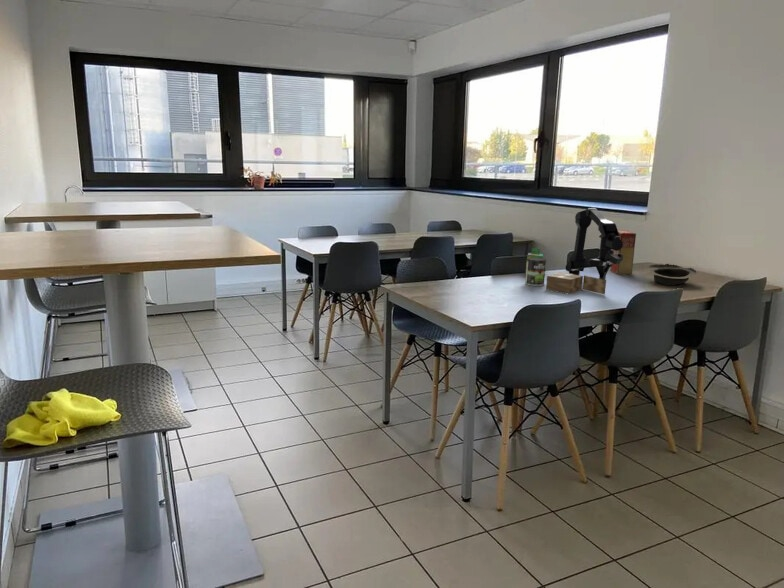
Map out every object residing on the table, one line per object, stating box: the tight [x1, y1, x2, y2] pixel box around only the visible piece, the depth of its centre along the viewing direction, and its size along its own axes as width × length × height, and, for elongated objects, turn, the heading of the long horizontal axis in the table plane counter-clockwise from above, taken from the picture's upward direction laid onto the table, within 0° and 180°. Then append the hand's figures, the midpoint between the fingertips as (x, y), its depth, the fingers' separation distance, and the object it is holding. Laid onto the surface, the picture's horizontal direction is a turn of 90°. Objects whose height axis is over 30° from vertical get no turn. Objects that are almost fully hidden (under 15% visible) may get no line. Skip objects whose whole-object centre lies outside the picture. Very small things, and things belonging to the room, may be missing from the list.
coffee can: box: [524, 257, 547, 287], centre depth 314 cm, size 10×10×14 cm
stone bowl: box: [647, 263, 697, 286], centre depth 321 cm, size 25×25×9 cm
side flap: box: [582, 272, 607, 295], centre depth 296 cm, size 14×1×12 cm, turn 33°
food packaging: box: [609, 230, 637, 275], centre depth 347 cm, size 13×9×25 cm
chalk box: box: [525, 247, 544, 267], centre depth 343 cm, size 9×9×15 cm
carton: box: [545, 271, 584, 295], centre depth 302 cm, size 14×13×8 cm
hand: (602, 277), depth 292 cm, fingers closed
